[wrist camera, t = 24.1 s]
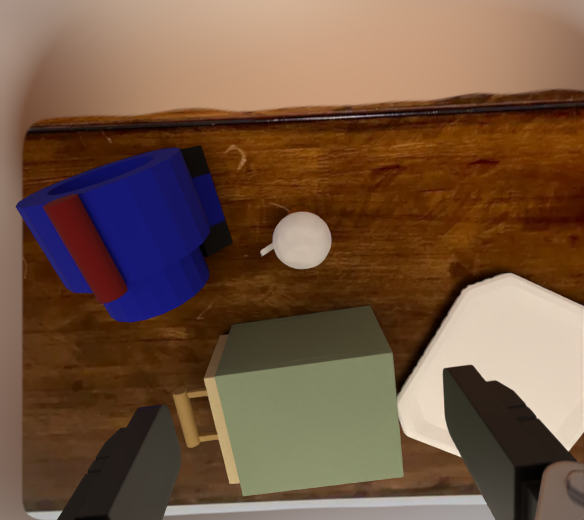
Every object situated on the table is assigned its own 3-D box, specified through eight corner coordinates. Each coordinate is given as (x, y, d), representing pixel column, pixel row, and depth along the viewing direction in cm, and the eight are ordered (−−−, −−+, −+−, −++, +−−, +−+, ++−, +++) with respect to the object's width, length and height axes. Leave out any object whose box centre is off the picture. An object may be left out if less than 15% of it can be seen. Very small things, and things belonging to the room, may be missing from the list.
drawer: (203, 431, 44) (185, 489, 37) (180, 340, 41) (154, 385, 33) (360, 410, 43) (375, 466, 36) (349, 317, 40) (362, 357, 33)
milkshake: (264, 202, 38) (255, 222, 28) (320, 194, 37) (330, 212, 28) (272, 248, 39) (265, 282, 29) (326, 240, 39) (337, 272, 29)
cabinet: (252, 423, 45) (242, 496, 36) (231, 324, 41) (214, 376, 32) (380, 407, 44) (403, 477, 35) (370, 305, 41) (392, 352, 31)
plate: (640, 331, 41) (659, 341, 39) (529, 473, 47) (540, 489, 45) (473, 253, 39) (483, 260, 37) (376, 413, 44) (380, 427, 42)
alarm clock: (198, 138, 36) (136, 135, 22) (239, 262, 39) (208, 331, 25) (75, 174, 37) (-63, 195, 22) (125, 292, 40) (33, 375, 26)
